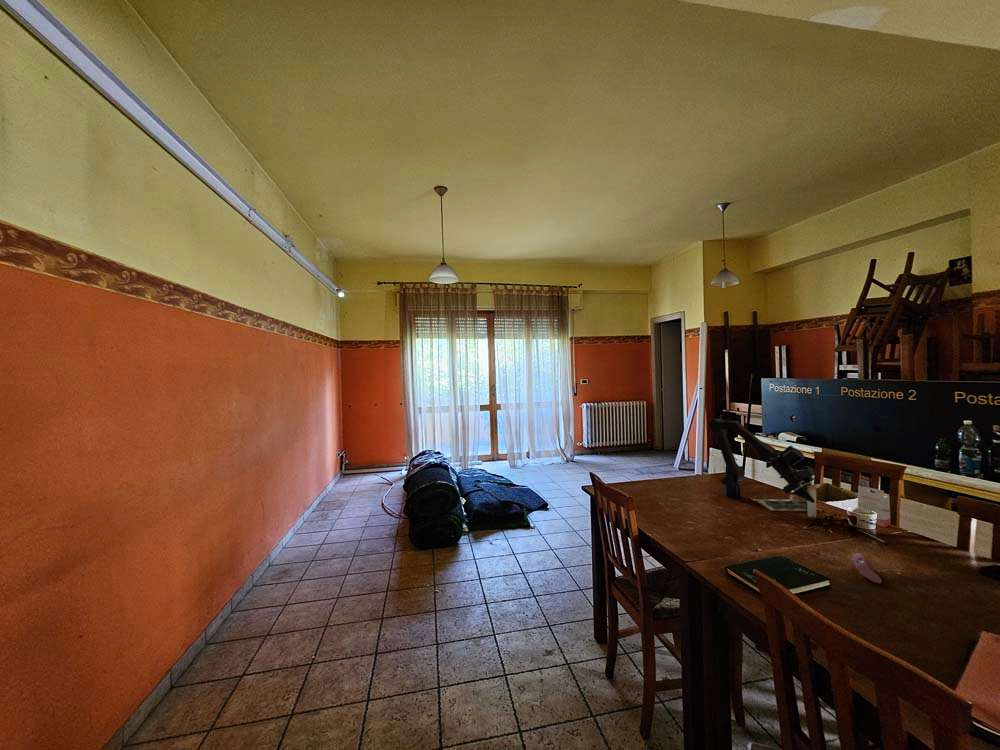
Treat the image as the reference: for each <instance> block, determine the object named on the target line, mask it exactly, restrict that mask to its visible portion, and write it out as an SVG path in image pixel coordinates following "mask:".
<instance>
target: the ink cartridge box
mask: <svg viewBox="0 0 1000 750" xmlns="http://www.w3.org/2000/svg"><path fill="white" fill-rule="evenodd" d="M857 491H858V492H857V509H858V508H864V509H868V510H870V511H874V512H876V513H877V524H878V525H877V526H878V527H882V528H887V527H886V525H885V524H887V525H889V526H890V525H891V503H890V495H889V496H888V495H885V491H884V490H882V489H878V488H872V487H868V486H862V485H858V487H857ZM871 491H872V492H871Z"/></svg>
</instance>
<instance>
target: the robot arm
mask: <svg viewBox="0 0 1000 750" xmlns="http://www.w3.org/2000/svg"><path fill="white" fill-rule="evenodd" d="M708 427H709V429H710V431H711V434H713V436H715V438H716V439H717V444H718V446H719V449H720V451H721V454H722V458H723V461H724V465H725V469H724V471H725V476H724V477H723V478H722V479H721V480H720V481H721V484H722V485H723V492H721V494H722V495H723V496H725V497H726V498H728V499H729V498H730V499H731V498H733V499H738V498H739V499H742V496H741V486H740V484H741V483H742V481H743V480H744V479H745V475H746V473H745V471H744V468H743V467H744V466H743V465H739V464H738V463H737V461H736V459H735V455H734V453H733V450H732V447H731V444H730V441H729V439H728V435H727V434H728V430H732V431H734V432H735V433H736V434H737V435H738V436H739V437H740V438H741V439H742V440H744V441H745V442H746V443H747V444H749V445H750V446H751V447H752V449H753V451H754V452H755V454H756V455H757V456H758V458H760V459H761V460H763V461H766V462H765V464H766V465H765V468H766V469H769V468H772V469H773V470H774V471H776V473H778V475H779V478H780V479H781V480H782V479H783V480H784V481H785V482H786V483H787V484H786V485H784V486H783V488H782V492H784V493H785V494H786V495H789V494H790V493H791V495H795V496H798V497H800V498H802V499H805V501H807V500H808V501H810V502H812V503H814V502H815V500H814V499H813V498H812V497H811V495H810V494H809V493H808V492H807V485H811V486H812V482H813V481H814V480H815V478H814V476H816V475H815V470H814V469H813V467H810V466H809V465H806V466H803V467H802V469H799V470H798V469H797V468H793V467H792V466H794V465H796V464H797V463H798V462H800V461H802V460H804V458H805V455H804V453H803V452H802V451H801V450H799V449H798V448H796V447H793V446H792V445H789V446H787V447H786V448H785V449H784V450H779V449H776V448H775V447H774V446H772V445H770V444H768V443H766V442H764V441H762V440H760V439H759V438H758V437H757V436H756V435H755V434H753V433H752V432H751V431H750V430H748V429H747V428H746V427H745V426H744V425H742V424H741V422H740V421H738V420H724V419H722V418H717V419H711V420H710V421H709V423H708ZM769 460H771V461H769ZM790 465H791V466H790ZM817 501H819V499H818V497H817V496H816V502H817Z"/></svg>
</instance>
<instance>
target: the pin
mask: <svg viewBox="0 0 1000 750" xmlns="http://www.w3.org/2000/svg"><path fill="white" fill-rule="evenodd" d="M807 492H808V493H809V494H810V495H811V497H812V498H813V499H814V500H815V502H814V503H812V502H810V501H808V500H806V501H807V511H806V512H807V516H808V517H809V518H812V517H811V516H816V515H817V501H816V497H817V486H815V485H812V484H811V485H807Z"/></svg>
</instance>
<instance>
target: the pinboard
mask: <svg viewBox="0 0 1000 750" xmlns="http://www.w3.org/2000/svg"><path fill="white" fill-rule="evenodd" d="M756 503H758V504H760V505H762V506H764V507H765V508H767V509H769V510H770V511H772V512H777V511H779V512H808V511H807V500H799V496H797V495H795V494H790V495H789V499H762V498H761V499H760V498H759V499H756Z"/></svg>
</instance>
